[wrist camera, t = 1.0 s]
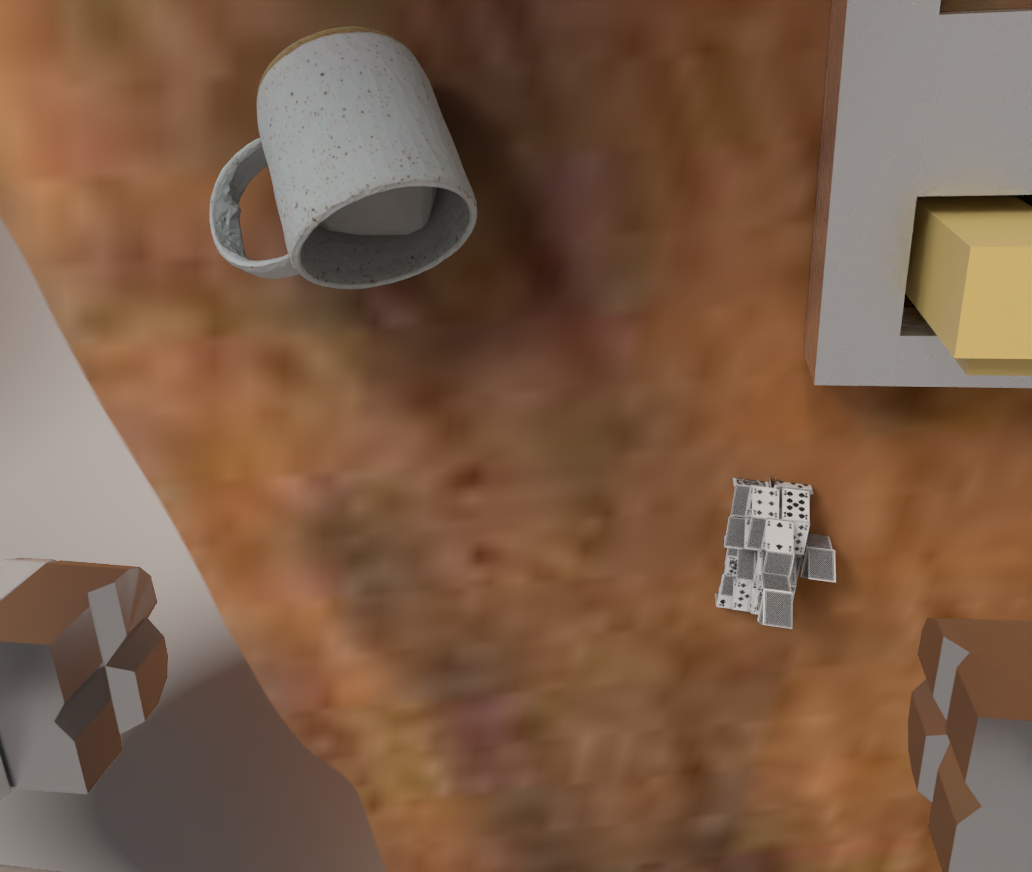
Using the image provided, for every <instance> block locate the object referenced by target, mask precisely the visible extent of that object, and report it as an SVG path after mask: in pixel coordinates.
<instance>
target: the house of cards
mask: <svg viewBox="0 0 1032 872" xmlns="http://www.w3.org/2000/svg"><path fill="white" fill-rule="evenodd" d="M732 479H733V487H735V492H734V497H733V503H732V509H731V515H730V516H732V517H729V520H728V525H727V531H726V536H725V535H724V547H726V548H727V554H726V560H725V569H723V574H722V580H721V585H720V587H719V593H718V594H717V593H715V598H716V607H721V608H728V609H732V610H738V611H746V612H751V614H757V615H758V619H757V622H759V623H760V624H762V625H767V626H774V627H781V628H788V629H792V625H793V599H794V595H795V590H796V586H797V585H796V584H797V579H798V574H799V570H800V567H801V576H800V577H802V578H803V577H804V578H806V579H812V580H819V581H827V582H834V583H836V560H835V550H833V549H832V545H831V541H830V537H829V536H824V535H816V534H808V532H809V527H810V498H811V494H814V493H813V489H812V485H806V484H798V483H789V482H781V481H776V477H775V482H774V488H772V487H771V480H770V478H769V482H764V481H755V480H747V479H739V478H732ZM805 546H806V553H805V557H804V558H803V557H802V556H801V555H804V551H805Z"/></svg>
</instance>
